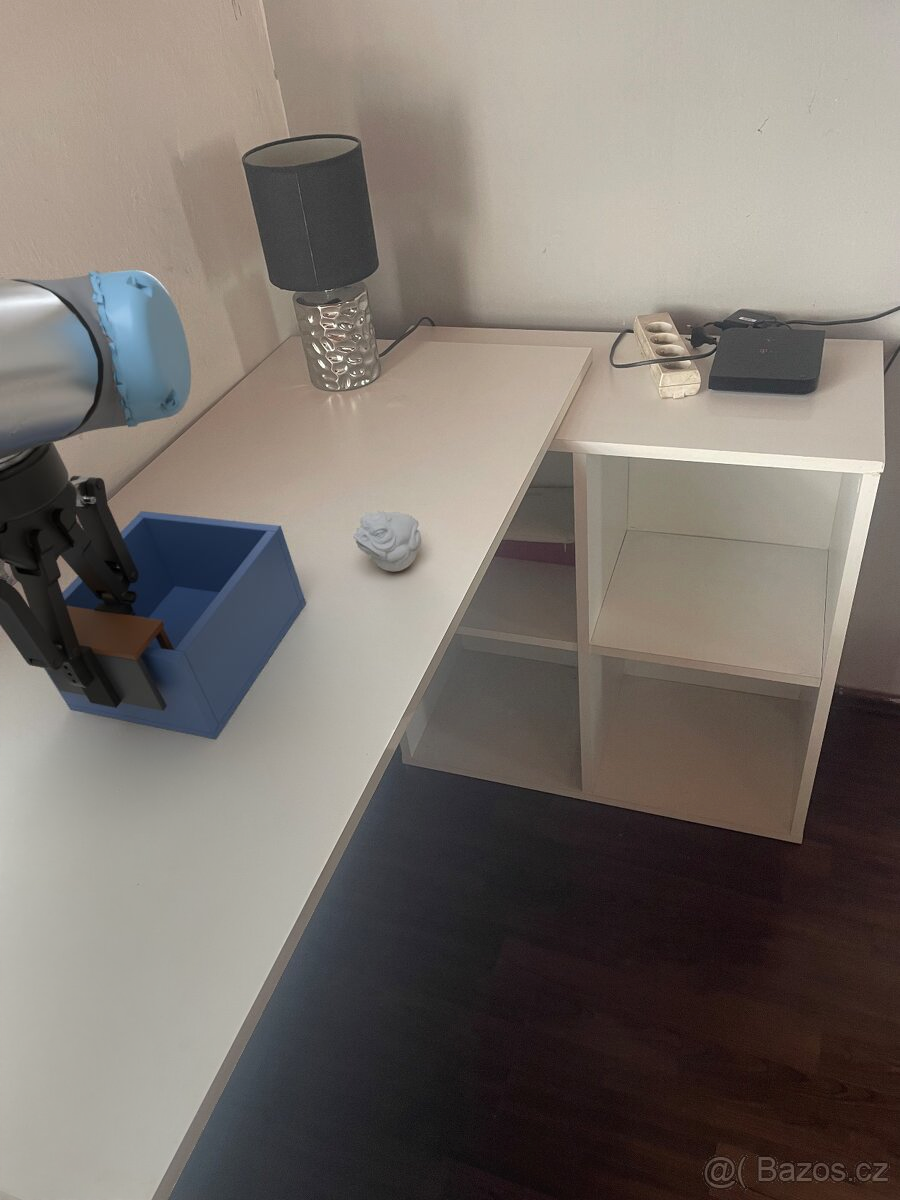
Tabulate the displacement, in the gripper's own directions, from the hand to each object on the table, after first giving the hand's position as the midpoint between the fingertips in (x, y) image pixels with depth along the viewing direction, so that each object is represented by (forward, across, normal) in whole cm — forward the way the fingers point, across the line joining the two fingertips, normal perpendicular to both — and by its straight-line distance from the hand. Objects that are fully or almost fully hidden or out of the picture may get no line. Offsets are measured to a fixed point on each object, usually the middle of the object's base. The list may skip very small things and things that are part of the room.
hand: (122, 681), depth 75 cm
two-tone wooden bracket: (0, 0, 0) cm, 0 cm away
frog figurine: (+5, +24, -15) cm, 29 cm away
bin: (+5, +8, 0) cm, 10 cm away
